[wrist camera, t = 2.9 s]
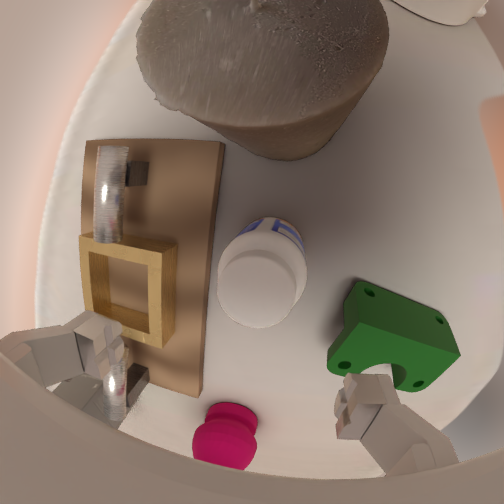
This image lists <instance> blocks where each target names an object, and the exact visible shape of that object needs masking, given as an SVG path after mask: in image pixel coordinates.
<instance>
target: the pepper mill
mask: <svg viewBox="0 0 504 504" xmlns="http://www.w3.org/2000/svg"><path fill="white" fill-rule="evenodd" d="M257 423H258V422H257V418H256V416H255V415H254V413H253V412H252V411H250V410H249V409H248V408H246V407H244V406H241V405H238V404H234V403H218V404H215V405H213V406H212V407H210V409H209V410H208V413H207V415H206V418H205V423H204V424H202V425H200V426H199V427H198V428H197V429H196V431H195V434H194V437H193V442H192V450H193V456H194V459H197V460H200V461H204V462H208V463H212V464H216V465H220V466H224V467H229V468H233V469H238V470H244V469H245V468H246V467H247V466H248V465H249V464H250V462H251V461H252V459H253V458H254V455H255V452H256V449H257V442H256V440H255V438H254V435H255V433H256V428H257Z"/></svg>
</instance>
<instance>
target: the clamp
mask: <svg viewBox="0 0 504 504" xmlns="http://www.w3.org/2000/svg"><path fill="white" fill-rule="evenodd" d="M343 308H344V329H343V331H342V332H341V333H340V335H339V336H338V337H337V339H336V340H335V341H334V342H333V344H332V345H331V346H330V348H329V349H328V353H327V369H328V370H329V371H330V372H331V373H333V374H336V375H340V376H344V377H345V376H346V375H347V373H361V372H362V371H363V370H365V369H367V368H369V367H371V366H374V365H378V364H383V363H391V367H392V374H393V382H394V388H395V389H397V390H402V391H407V392H418V391H421V390H423V389H425V388H426V387H428V386H429V385H430V384H431V383H432V382H433V381H435V380H436V379H437V378H438V377H439V376H440V375H441V374H442V373H443V372H444V371H445V370H447V369H448V368H449V367H450V366H451V365H452V364H453V363H454V362H455V361H456V360H457V359H458V358H459V357H460V356H461V355H460V352H459V349H458V346H457V344H456V341H455V338H454V336H453V333H452V331H451V328H450V326H449V323H448V321H447V320H446V318H445V317H444V316H443V315H442V314H441V313H439V312H438V311H436V310H433V309H431V308H428V307H426V306H424V305H421V304H419V303H416V302H414V301H411V300H409V299H407V298H404V297H402V296H399V295H397V294H394V293H392V292H389V291H387V290H384V289H382V288H379V287H377V286H375V285H372V284H370V283H367V282H364V281H359V282H357V283H356V284H355V286H354V287H353V289H352V290H351V292H350V294H349V295H348V297H347V298H346V300H345V301H344V304H343Z"/></svg>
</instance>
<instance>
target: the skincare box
mask: <svg viewBox="0 0 504 504" xmlns="http://www.w3.org/2000/svg"><path fill="white" fill-rule="evenodd" d="M52 393H54V394H55V395H57V396H58V397H60V398H61V399H63V400H65V401H66V402H68V403H69V404H71V405H73V406H74V407H76V408H78V409H79V410H81V411H83V412H85V413H86V414H88V415H90V416H92V417H94V418H96V419H97V420H99V421H101V422H103V423H105V424H107V425H109V426H111V427H113V428H115V429H118V428H119V426H120V425H121V423H122V422H123V420H122V421H113V420H110V419H108V418H106V417H105V416H104V408H103V379H102V380H100V379H98V378H96V377H93V376H91V375H89V374H87V373H85V372H84V373H83V374H80V375H78V376H75V377H72V378H70V379H67V380H64V381H62V382H61V384H60V385H59V386H58V387H57V388H56V389H55V390H54V391H53V392H52ZM136 401H137V399H136ZM136 401H135V402H136ZM135 402H134V403H133V405H134V404H135ZM133 405H132V406H131V408H132V407H133ZM131 408H128V407H126V416H127V414H128V413H129V411H130V410H131Z"/></svg>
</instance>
